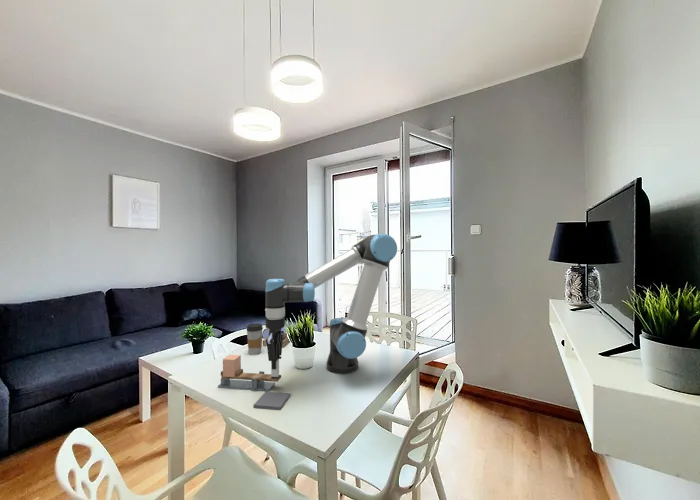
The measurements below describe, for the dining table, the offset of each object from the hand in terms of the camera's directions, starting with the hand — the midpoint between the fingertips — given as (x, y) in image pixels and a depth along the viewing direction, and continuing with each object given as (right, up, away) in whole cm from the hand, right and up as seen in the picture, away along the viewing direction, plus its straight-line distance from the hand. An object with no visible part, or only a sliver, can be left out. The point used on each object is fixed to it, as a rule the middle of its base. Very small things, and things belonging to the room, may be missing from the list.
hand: (275, 375), depth 118 cm
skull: (-13, -5, +55) cm, 57 cm away
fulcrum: (-12, -5, +2) cm, 13 cm away
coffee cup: (-21, -5, +40) cm, 45 cm away
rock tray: (-12, -4, +57) cm, 58 cm away
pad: (+2, -5, -10) cm, 12 cm away
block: (-19, -1, +3) cm, 19 cm away
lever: (-10, -2, +2) cm, 11 cm away
